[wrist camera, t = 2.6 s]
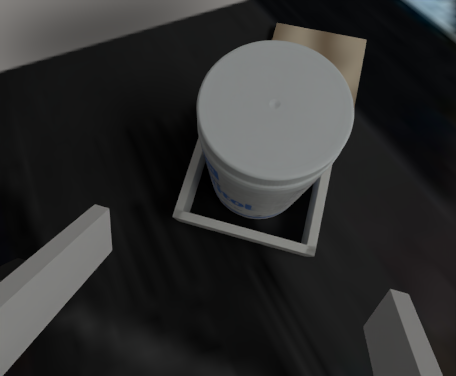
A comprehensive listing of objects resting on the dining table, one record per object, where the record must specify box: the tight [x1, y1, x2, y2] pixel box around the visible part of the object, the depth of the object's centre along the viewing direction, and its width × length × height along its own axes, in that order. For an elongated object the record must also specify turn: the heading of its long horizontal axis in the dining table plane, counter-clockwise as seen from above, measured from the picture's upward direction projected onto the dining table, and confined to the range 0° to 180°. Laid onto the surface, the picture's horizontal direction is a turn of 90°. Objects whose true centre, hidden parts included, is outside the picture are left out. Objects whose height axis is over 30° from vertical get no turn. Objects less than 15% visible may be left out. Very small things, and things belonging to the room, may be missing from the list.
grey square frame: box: [172, 138, 332, 257], centre depth 29 cm, size 14×14×3 cm
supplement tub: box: [196, 40, 354, 219], centre depth 23 cm, size 10×10×15 cm
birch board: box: [272, 23, 367, 106], centre depth 33 cm, size 11×11×1 cm
